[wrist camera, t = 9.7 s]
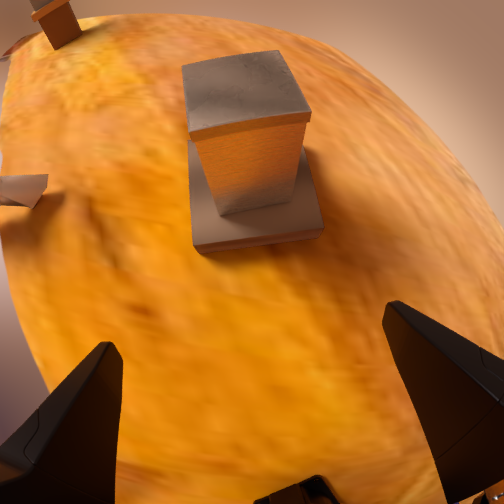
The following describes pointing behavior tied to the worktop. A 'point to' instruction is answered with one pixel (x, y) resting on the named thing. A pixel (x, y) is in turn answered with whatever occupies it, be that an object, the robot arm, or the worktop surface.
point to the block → (252, 214)
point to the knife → (56, 21)
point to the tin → (246, 127)
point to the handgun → (22, 189)
